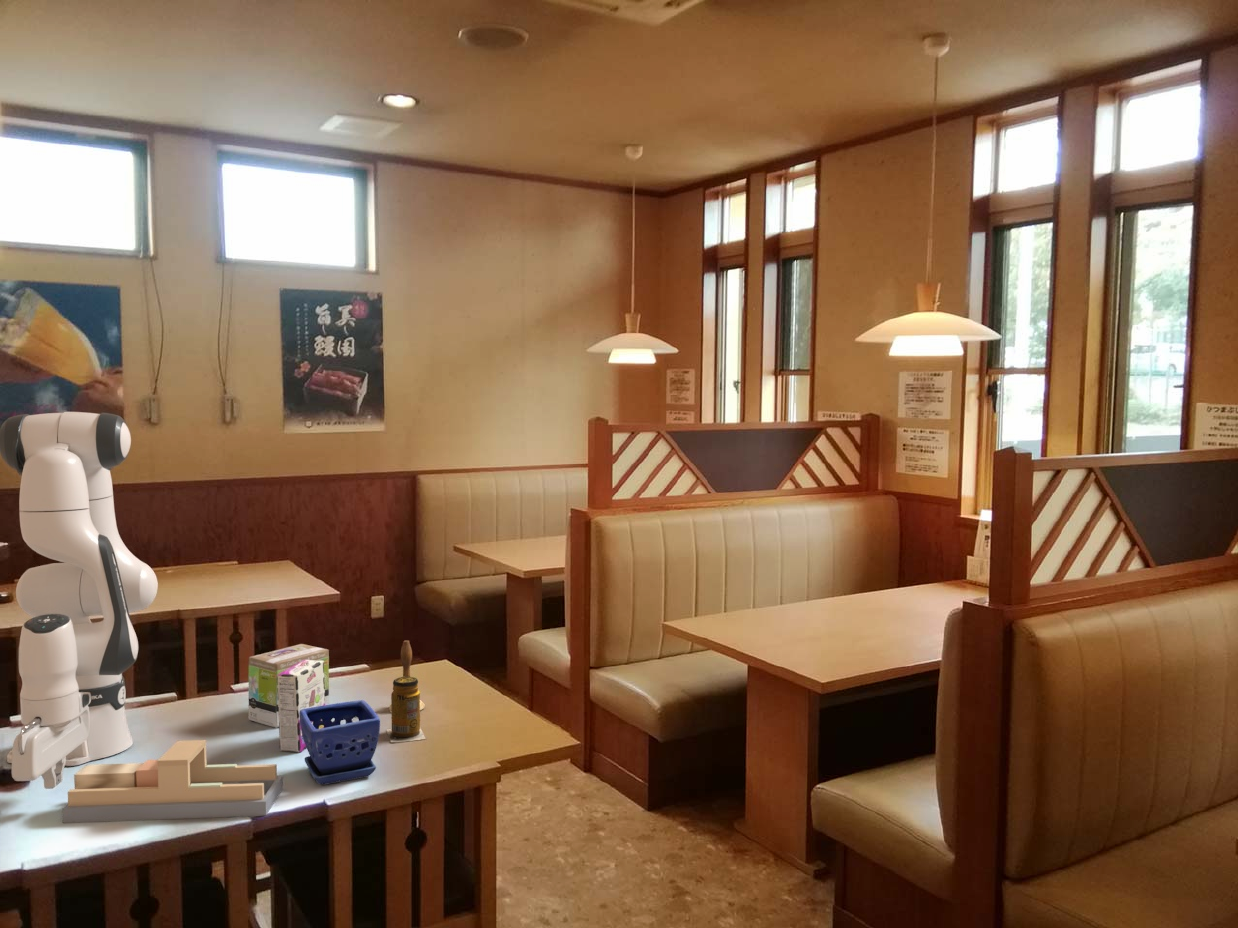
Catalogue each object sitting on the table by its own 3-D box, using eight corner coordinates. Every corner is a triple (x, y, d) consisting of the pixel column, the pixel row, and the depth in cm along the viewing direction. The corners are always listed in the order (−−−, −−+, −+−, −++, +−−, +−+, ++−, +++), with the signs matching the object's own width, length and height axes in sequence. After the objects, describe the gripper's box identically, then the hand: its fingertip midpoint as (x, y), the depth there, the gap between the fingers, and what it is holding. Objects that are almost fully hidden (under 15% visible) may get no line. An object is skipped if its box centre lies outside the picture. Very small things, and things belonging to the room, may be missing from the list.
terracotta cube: (137, 798, 167) (136, 770, 167) (148, 786, 172) (147, 759, 172) (166, 797, 168) (165, 769, 167) (177, 785, 173) (176, 758, 172)
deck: (62, 822, 163) (60, 765, 162) (93, 794, 175) (91, 741, 174) (266, 815, 166) (264, 759, 166) (283, 787, 178) (281, 735, 177)
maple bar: (75, 799, 166) (74, 774, 166) (86, 789, 171) (86, 764, 171) (134, 797, 167) (133, 772, 167) (144, 787, 172) (144, 762, 172)
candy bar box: (305, 732, 207) (304, 658, 206) (327, 734, 206) (325, 659, 205) (277, 751, 196) (275, 673, 195) (299, 753, 195) (297, 674, 194)
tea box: (277, 729, 209) (275, 663, 208) (247, 720, 214) (246, 656, 213) (330, 710, 222) (329, 647, 221) (301, 702, 227) (300, 641, 226)
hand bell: (385, 704, 226) (384, 638, 224) (420, 700, 229) (419, 635, 228) (392, 715, 218) (391, 647, 217) (428, 710, 222) (428, 643, 220)
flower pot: (383, 778, 183) (382, 717, 182) (312, 792, 176) (311, 729, 175) (365, 755, 194) (364, 698, 193) (298, 767, 188) (296, 708, 187)
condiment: (419, 726, 211) (419, 673, 210) (425, 739, 203) (425, 684, 202) (386, 730, 209) (385, 676, 208) (390, 743, 201) (390, 688, 200)
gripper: (38, 728, 157) (42, 810, 158) (95, 690, 177) (98, 762, 178) (-2, 729, 156) (2, 811, 157) (59, 691, 177) (62, 763, 178)
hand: (53, 785), depth 168 cm, fingers closed
